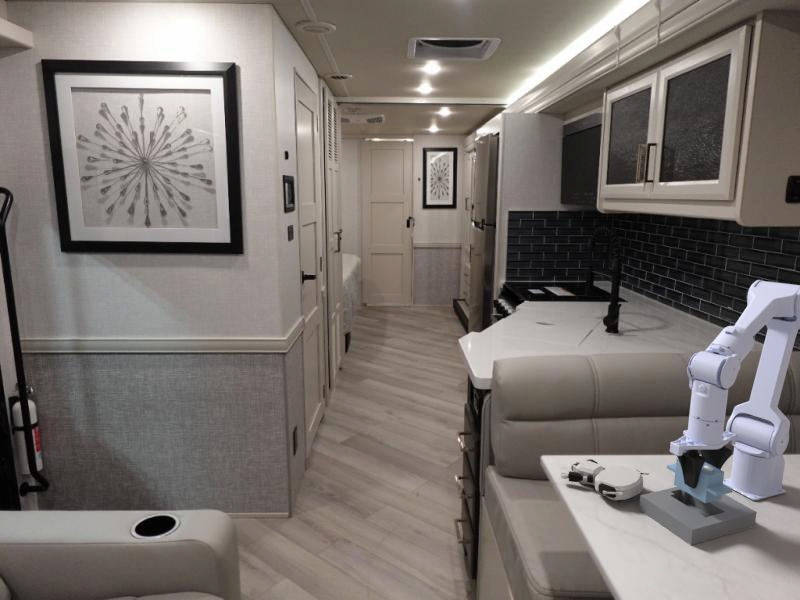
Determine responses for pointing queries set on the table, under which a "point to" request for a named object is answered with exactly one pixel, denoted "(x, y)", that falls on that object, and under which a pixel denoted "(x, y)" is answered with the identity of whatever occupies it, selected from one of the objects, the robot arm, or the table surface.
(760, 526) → the table surface
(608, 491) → the robot toy
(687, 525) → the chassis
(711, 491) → the block
